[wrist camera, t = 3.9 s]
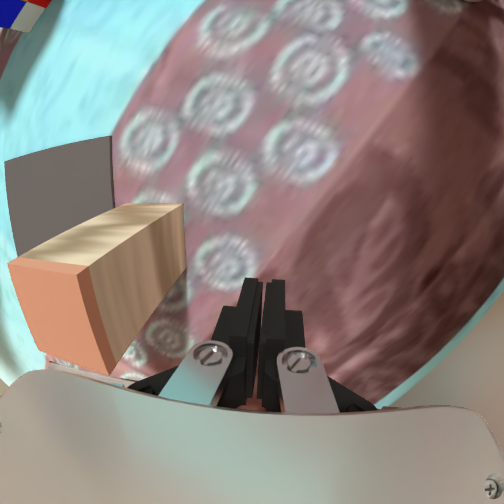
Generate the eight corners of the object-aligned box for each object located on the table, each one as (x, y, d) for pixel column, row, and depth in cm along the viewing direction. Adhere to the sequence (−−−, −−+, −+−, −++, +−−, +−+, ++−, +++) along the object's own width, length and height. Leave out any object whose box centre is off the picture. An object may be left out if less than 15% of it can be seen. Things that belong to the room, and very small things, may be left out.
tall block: (182, 203, 19) (76, 274, 8) (186, 267, 21) (109, 375, 10) (124, 203, 20) (7, 263, 9) (131, 262, 22) (38, 350, 11)
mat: (111, 135, 18) (109, 135, 18) (132, 315, 24) (130, 317, 23) (6, 161, 19) (4, 161, 19) (29, 293, 25) (28, 294, 25)
